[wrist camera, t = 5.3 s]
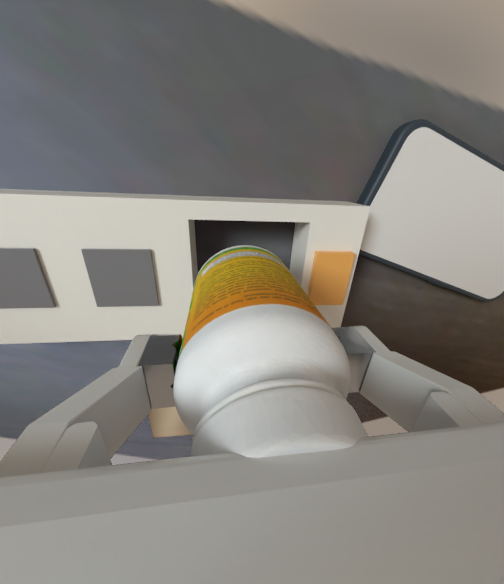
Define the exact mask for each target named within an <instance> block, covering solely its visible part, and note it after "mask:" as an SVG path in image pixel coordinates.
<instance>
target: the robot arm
mask: <svg viewBox="0 0 504 584" xmlns="http://www.w3.org/2000/svg"><path fill="white" fill-rule="evenodd" d="M332 329H333V331H334V332H335V334H336V336H337V337H338V339H339V340H340V342H341V344H342V345H343V347H344V349H345V351H346V354H347V357H348V360H349V365H350V374H351V379H350V387H349V392H348V393H352V392H360V394H361V395H362V396H364V397H365V398H366V399H367V400H369V401H370V402H371V403H373V404H374V405H375V406H376V407H378V408H379V409H380V410H381V411H383V412H384V413H385V414H386V415H388V416H389V417H390V418H391V419H393V420H394V421H395V422H397V423H398V424H399V425H400V426H402V427H403V428H404V429H405V430H407V431H408V433H399V434H390V435H381V436H372V437H363V438H359V439H358V440H357V441H356V442H355V444H354V445H353V446H351V447H348V448H343V449H337V450H327V451H317V452H307V453H298V454H289V455H280V456H271V457H261V458H252V457H245V456H243V455H240V454H236V453H218V454H209V455H200V456H191V457H182V458H173V459H164V460H155V461H147V462H137V463H128V464H120V465H112V463H111V461H110V459H111V458H112V457H113V455H114V454H115V453H116V452H117V451H118V449H119V448H120V447H121V446H122V445H123V444H124V442H125V441H126V440H127V439H128V438H129V437H130V435H131V434H132V433H133V432H134V431H135V429H136V428H137V427H138V426H139V425H140V424H141V422H142V421H143V420H144V419H145V418H146V417H147V415H148V414H149V413H150V412H151V409H158V408H168V407H176V406H175V401H174V393H173V386H174V378H175V372H176V366H177V362H178V357H179V353H180V349H181V345H182V335H181V334H152V335H151V334H147V335H136V336H135V337H134V338H133V340H132V342H131V344H130V346H129V348H128V350H127V351H126V353H125V355H124V357H123V359H122V361H121V363H120V365H119V367H118V368H112V369H111V370H109V371H108V372H106V373H105V374H103V375H102V376H101V377H99V378H98V379H96V380H95V381H93V382H92V383H90V384H89V385H87V386H86V387H84V388H83V389H81V390H80V391H78V392H77V393H75V394H74V395H72V396H71V397H69V398H68V399H66V400H65V401H63V402H62V403H60V404H59V405H57V406H56V407H54V408H53V409H52V410H50V411H49V412H47V413H46V414H44V415H43V416H41V417H40V418H38V419H37V420H35V421H34V422H32V423H31V424H29V425H28V426H27V427H26V428H25V430H24V431H23V432H22V434H21V435H20V436H19V438H18V439H17V440H16V442H15V443H14V444H13V445H12V447H11V448H10V449H9V451H8V452H7V453H6V455H5V456H4V457H3V459H2V460H1V461H0V584H504V413H503V412H501V411H500V410H499V409H498V408H496V406H494V405H493V404H492V403H491V402H490V401H488V400H487V399H486V398H485V397H484V396H482V395H481V394H480V393H479V392H478V391H476V390H475V389H474V388H472V387H470V386H468V385H466V384H464V383H462V382H459V381H457V380H455V379H453V378H451V377H449V376H447V375H444V374H442V373H440V372H438V371H436V370H434V369H431V368H429V367H427V366H425V365H423V364H421V363H419V362H416V361H414V360H412V359H410V358H408V357H406V356H403V355H401V354H399V353H397V352H395V351H394V352H391V351H390V350H389V349H388V348H387V347H386V346H385V345H384V344H383V343H382V342H381V341H380V340H379V339H378V338H377V337H376V336H375V335H374V334H373V333H372V332H371V331H370V330H369V329H368V328H367V327H365V326H363V325H361V326H350V327H334V328H332Z"/></svg>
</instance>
